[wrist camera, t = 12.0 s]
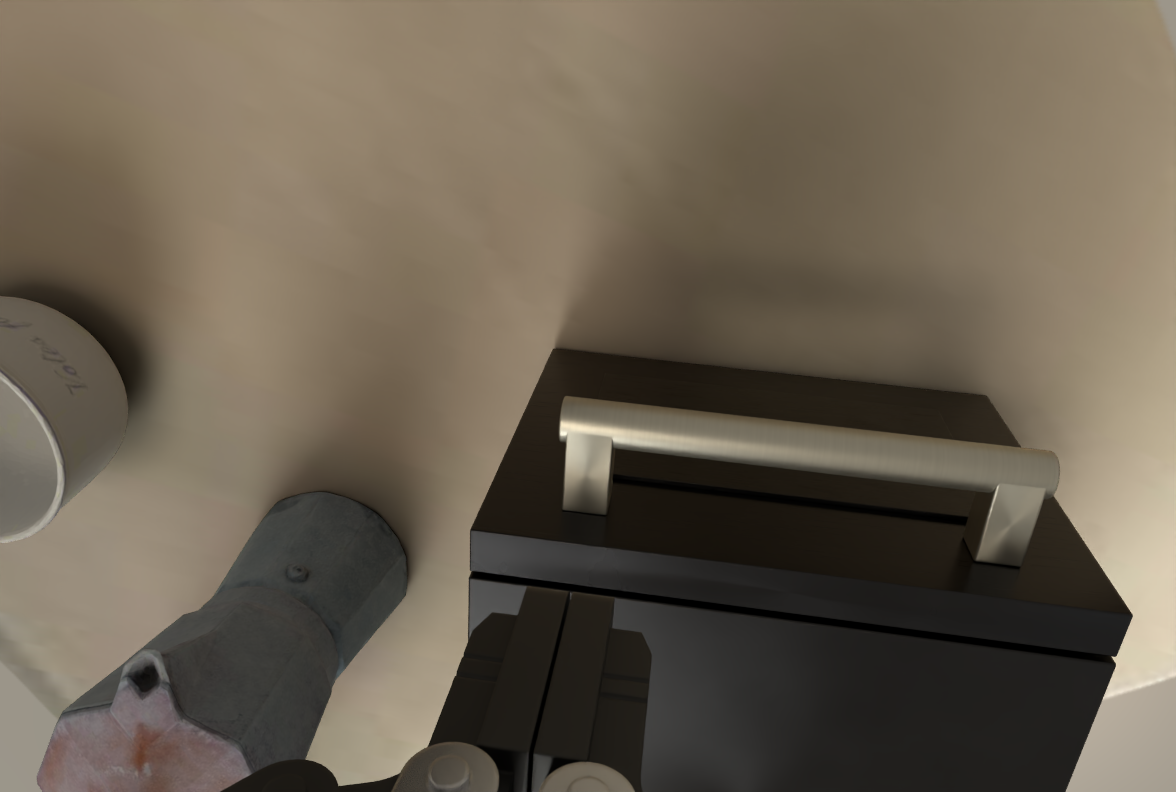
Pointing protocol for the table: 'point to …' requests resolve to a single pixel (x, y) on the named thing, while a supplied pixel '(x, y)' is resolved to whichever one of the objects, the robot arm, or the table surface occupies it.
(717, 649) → the oven
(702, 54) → the table surface
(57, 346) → the teacup
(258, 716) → the moka pot
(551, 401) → the oven door
